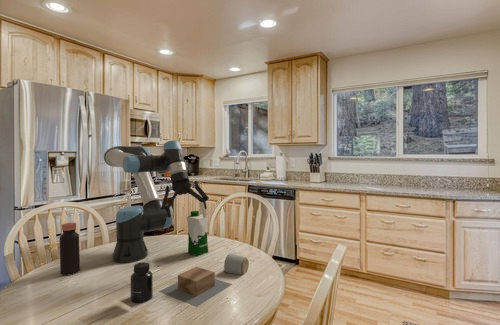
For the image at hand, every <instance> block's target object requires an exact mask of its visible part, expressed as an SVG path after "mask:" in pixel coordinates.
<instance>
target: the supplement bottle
mask: <svg viewBox="0 0 500 325" xmlns="http://www.w3.org/2000/svg"><path fill="white" fill-rule="evenodd" d="M150 270H151V269H150V263H149V262H145V261H144V262H137V263H135V264H134V265H133V273H131V275H130V282H129V283H130V295H129V296H130V298H129V299H130V302H131V303H133V304H143V303H147V302H149V301H151V300H152V299H153V297H154V296H153V284H154V283H153V282H154V280H153V279H154V276H153V272H152V271H150Z"/></svg>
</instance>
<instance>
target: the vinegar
mask: <svg viewBox="0 0 500 325" xmlns="http://www.w3.org/2000/svg"><path fill="white" fill-rule="evenodd" d="M61 231H62V234H61V235H60V236H59V265H60V266H59V267H60V271H59V272H60V275H61V274H63V275H62V276H69V275H68V274H72V275H74V274H73V273H75V274H77V273H79V272H80V270H81V265H80V264H81V262H80V260H81V259H80V235H79V233H78V232H77V223H76V222H66V223H63V224H61ZM78 271H79V272H78ZM76 272H77V273H76Z"/></svg>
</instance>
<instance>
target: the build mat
mask: <svg viewBox="0 0 500 325" xmlns="http://www.w3.org/2000/svg"><path fill="white" fill-rule="evenodd" d="M232 285H233V283H230V282H226V281H223V280H221V279H216V278H215V286H214V287H212V288H210V289H209V290H207V291H205V292H204V293H202V294H200V295H198V296H194V295H191V294H189V293H186V292H183V291H181V290H178V281H177V282H175V283H173V284H170V285H169V286H166V287H165V288H162V289H161V290H159V291H158V292H160V293H162V294H165V295H166V296H169V297H172V298H175V299H177V300H178V301H181V302H184V303H187V304H189V305H191V306H194V307H199V306H200V305H202V304H204V303H205V302H207V301H209V300H210V299H211V298H213V297H214V296H216V295H218V294H219V293H221V292H223V291H225V290H226V289H228V288H229V287H230V286H232Z"/></svg>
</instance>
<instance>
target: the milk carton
mask: <svg viewBox="0 0 500 325" xmlns="http://www.w3.org/2000/svg"><path fill="white" fill-rule="evenodd" d="M209 217H210V215H207V217H206V218H203V214H200V211H199V210H192V211H190V215H188V216H186V220H187V228H188V229H187V230H188V242H187V244H188V246H187V247H188V248H187V250H188V251H187V253H188V254H190V255H192V256H193V255H194V256H196V257H199V256H202V255H204V254H207V253H209V243H208V222H209Z"/></svg>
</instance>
